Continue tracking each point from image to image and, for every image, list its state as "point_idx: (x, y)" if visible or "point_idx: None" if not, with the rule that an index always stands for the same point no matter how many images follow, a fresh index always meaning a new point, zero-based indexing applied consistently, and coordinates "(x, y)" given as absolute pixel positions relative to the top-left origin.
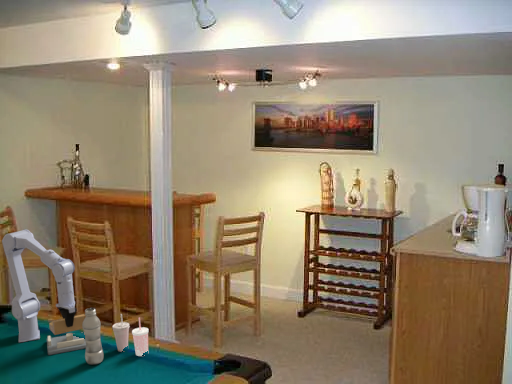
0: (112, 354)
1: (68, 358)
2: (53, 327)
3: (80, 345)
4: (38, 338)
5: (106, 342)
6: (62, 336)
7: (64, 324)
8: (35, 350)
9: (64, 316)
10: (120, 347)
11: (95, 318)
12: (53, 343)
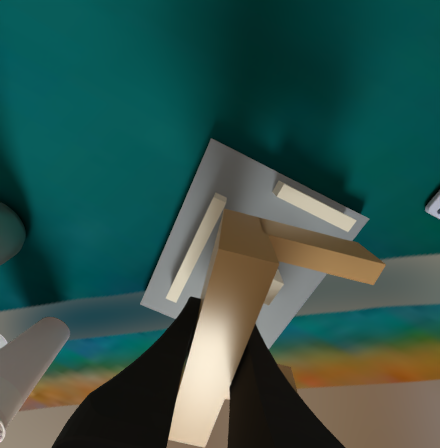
0: (37, 293)
1: (110, 180)
2: (246, 230)
3: (164, 266)
4: (429, 204)
5: (148, 333)
6: (320, 273)
7: (201, 301)
8: (321, 125)
9: (130, 365)
10: (27, 329)
11: None
12: (286, 210)
